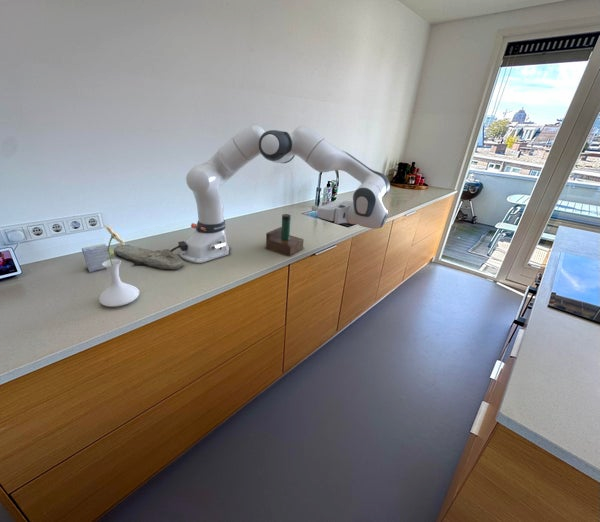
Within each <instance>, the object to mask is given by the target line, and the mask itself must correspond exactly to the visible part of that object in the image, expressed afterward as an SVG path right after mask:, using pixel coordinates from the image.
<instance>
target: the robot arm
mask: <svg viewBox="0 0 600 522" xmlns="http://www.w3.org/2000/svg"><path fill="white" fill-rule="evenodd" d="M260 155H261V156H262V157H263V158H264V159H266V160H267V161H270V162H272V163H276V164H287V163H290V162H291V161H292V160H294V158H295V156H297V157H299V158H300V159H301V160H302V161H304V162H305V163H306V164H307V165H308V166H309V167H311V169H313V170H315V171H317V172H319V173H329V172H335V171H342V172H345V173H347V174H348V175H350V176H351V177H353V178H354V179H355V180H357V181H358V182H359V183H360V184H359V186H358V187H357V188H356V189H355V191H354V192H353V195H352V200H342V199H335V200H334V201H326V200H324V201H322V202H321V206H318V205H315V204H313V205H312V206H311V211H314V212H315V213H316V216H317V217H318V218H319V219H322V220H325V221H328V222H334V224H337V225H340V224H350V225H357V226H359V227H362V228H367V229H374V230H377V229H381V228H383V226H384V225H385V223H386V221H387V219H388V217H389V211H388V209H386V207H385V206H384V203H383V200H382V199H383V198H384V197H385V196H386V195H387V194H388V193H389V191H390V188H391V183H390V180H389V178H388V177H387V176H386V175H385V174H384V173H382V172H380V171H376V170H374V169H372V168H371V167H368V166H367V165H366V164H365V163H363V162H362V161H360V160H359V159H357V158H356V157H354V156H353V155H351V154H350V153H349V152H347V151H345V150H343V149H341V148H339V147H337V146H335V145H334V144H332V143H331V142H330V141H329V140H328V139H326V138H325V137H324V136H322V135H321V134H320V133H319V132H317V131H316V130H314V129H312V128H311V127H309V126H307V125H303V124H302V125H299V126H297V127H295V129H293V131H292V132H291V133H289V132H288V131H285V130H284V131H282V130H278V129H277V130H276V129H271V130H267V131H265V129H264V128H263V127H261V126H260V125H258V124H251V125H249V126H247V127H245V128H243V129H242V130H240V131H239V132H238V133H236V134H235V135H234V136H233V137H231V138H229V140H227V141H226V143H224V144H223V145H222V146H220V147H219V148H218V150H217V151H216V153H214V154H213V155H212V156H211V157H210V159H208V160H207V161H206V162H204V163H201V164H197V165H195V166H193V167H192V168H191V169H189V171H188V172H187V173H186V177H185V181H186V184H187V187H188V188H189V189H190V190H191V191H192V195H193V197H194V199H195V203H196V209H197V210H196V211H197V223H194V222H192V223H191V224H190V227H191V228H192V229H195V231H194V232H193V233H192V234H191V235H190V237H188V239H187V240H186V241H184V240H182V241H178V242H177V244H178V245H177V246H175V247H173V248H172V249H169V250H170V252H172V253H173V251H176V250H178V249H180V252H179V257H180V258H182V260H184V261H187V262H190V263H195V264H203V263H206V262H209V261H212V260H215V259H218V258H219V259H220V258H222V257H225V256H228V255H230V246H229V244H228V240H227V235H226V234H227V233H226V220H225V215H224V213H225V212H224V203H223V201H222V200H221V196H220V192H219V188H220V187H221V186H223V185H224V184H225V183H226V182H227V181H228V180H230V179H231V178H232V177H233V176H234V175H236V174H237V173H238V172H239V171H241V169H243V168H244V167H246V166H247V165H248V164H249V163H251V162H252V161H253V160H254V159H256V158H257V157H258V156H260ZM133 266H148V265H147V264H144V263H137V262H134V263H133Z"/></svg>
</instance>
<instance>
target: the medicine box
mask: <svg viewBox="0 0 600 522" xmlns="http://www.w3.org/2000/svg"><path fill="white" fill-rule="evenodd" d="M81 252H82V255H83V258H84V261H85V265H86V268H87V269H88V272H89V273H92V272H96V271H100V270H104V269H107V268H106V267H104V266H103V265H102V263H103V262H105V261H107V260H110V258H108V257H109V253H108V244H106V243H102V244H96V245H95V244H94V245H91V246H85V247H81ZM107 258H108V259H107Z"/></svg>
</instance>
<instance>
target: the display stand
mask: <svg viewBox="0 0 600 522" xmlns="http://www.w3.org/2000/svg"><path fill="white" fill-rule="evenodd" d="M281 232H282V226H280V227H277V228H275V229H272V230H269V231H267V232H266V234H265V249H267V250H270V251H273V252H275V253H279V254H282V255H284V256H289V257H291V256H292V255H294V254H296V253H298V252H299V251H301V250H302V249H304V238H301V237H297V236H295V235H291V234H290V237H289V240H287V241H284V240H282V239H281Z"/></svg>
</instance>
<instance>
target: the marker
mask: <svg viewBox="0 0 600 522" xmlns="http://www.w3.org/2000/svg"><path fill="white" fill-rule="evenodd" d="M291 218H292V215H291V214H288V213H284V214H281V227H282V232H281V239H282V240H284V241H287V240H289V237H290V235H291V234H290V233H291Z"/></svg>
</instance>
